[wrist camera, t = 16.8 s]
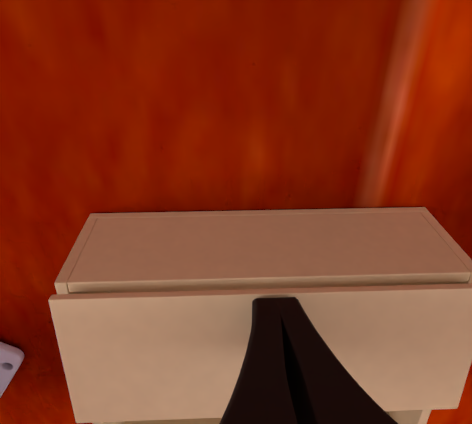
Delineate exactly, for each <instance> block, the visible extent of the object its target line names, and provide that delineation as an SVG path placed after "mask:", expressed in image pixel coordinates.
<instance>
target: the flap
mask: <svg viewBox="0 0 472 424" xmlns="http://www.w3.org/2000/svg"><path fill="white" fill-rule="evenodd" d="M278 297H296V298H297V299H298V300H299V302H300V304H301V306H302V308H303V309H304V311H305V313H306V314H307V316H308V318H309V319H310V321H311V322H312V324H313V325H314V327H315V329H316V330H317V332H318V333H319V334H320V336H321V337H322V339H323V340H324V341H325V343H326V344H327V346H328V347H329V348H330V350H331V351H332V352H333V354H334V355H335V356H336V358H337V359H338V360H339V362H340V363H341V364H342V365H343V366H344V368H345V369H346V370H347V371H348V373H349V374H350V375H351V376H352V377H353V378H354V380H355V381H356V382H357V383H358V384H359V385H360V386H361V387H362V388H363V390H364V391H365V392H366V393H367V394H368V395H369V396H370V397H371V398H372V399H373V400H374V401H375V402H376V403H377V404H378V405H379V406H380V407H381V408H382V409H383V410H384V411H407V410H433V409H457V408H458V405H459V402H460V398H461V395H462V392H463V388H464V385H465V381H466V378H467V375H468V371H469V368H470V365H471V361H472V283H471V284H433V285H396V286H359V287H321V288H284V289H246V290H209V291H171V292H134V293H97V294H59V295H51V297H50V298H49V300H48V301H49V305H50V310H51V314H52V319H53V323H54V328H55V332H56V337H57V341H58V345H59V350H60V354H61V359H62V363H63V368H64V372H65V377H66V381H67V385H68V390H69V394H70V399H71V403H72V408H73V412H74V417H75V421H76V423H94V422H120V421H146V420H172V419H198V418H222V417H223V414H224V412H225V410H226V408H227V405H228V403H229V401H230V398H231V395H232V393H233V390H234V388H235V385H236V382H237V379H238V377H239V374H240V370H241V367H242V364H243V361H244V357H245V354H246V350H247V346H248V341H249V337H250V332H251V326H252V301H253V300H254V299H256V298H278Z"/></svg>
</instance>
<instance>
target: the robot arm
mask: <svg viewBox="0 0 472 424" xmlns="http://www.w3.org/2000/svg"><path fill="white" fill-rule="evenodd" d="M24 356H25V355H24V353H23V352H22V351H21V350H20V349H18V348H16V347H13V346H11V345H8V344H5V343H2V342H0V397H1V396H2V394H3V393H4V391H5V389H6V388H7V386H8V384H9V383H10V381H11V379H12V378H13V376H14V375H15V373H16V371H17V370H18V368H19V366H20V365H21V363H22V361H23V359H24ZM219 424H398V423H397V422H396V421H395V420H394V419H393V418H391V417H390V416H389V415H388V414H387V413H386V412H385V411H384V410H383V409H382V408H381V407H380V406H379V405H378V404H377V403H376V402H375V401H374V400H373V399H372V398H371V397H370V396H369V395H368V394H367V393H366V392H365V391H364V390H363V388H362V387H361V386H360V385H359V384H358V383H357V382H356V381H355V380H354V378H353V377H352V376H351V375H350V374H349V373H348V371H347V370H346V369H345V368H344V366H343V365H342V364H341V363H340V362H339V360H338V359H337V358H336V356H335V355H334V354H333V352H332V351H331V350H330V348H329V347H328V346H327V344H326V343H325V341H324V340H323V339H322V337H321V336H320V334H319V333H318V332H317V330H316V329H315V327H314V325H313V324H312V322H311V321H310V319H309V318H308V316H307V314H306V313H305V311H304V309H303V308H302V306H301V304H300V302H299V300H298V299H297V298H296V297H278V298H256V299H254V300H253V301H252V326H251V332H250V337H249V341H248V346H247V350H246V354H245V357H244V361H243V364H242V367H241V370H240V374H239V377H238V379H237V382H236V385H235V388H234V390H233V393H232V395H231V398H230V401H229V403H228V405H227V408H226V410H225V412H224V414H223V417H222V419H221V421H220V423H219Z"/></svg>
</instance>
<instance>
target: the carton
mask: <svg viewBox="0 0 472 424" xmlns="http://www.w3.org/2000/svg"><path fill="white" fill-rule="evenodd" d="M471 283H472V260H471V259H470V257H469V256H468V255H467V254H466V253H465V252H464V251H463V250H462V248H461V247H460V246H459V245H458V244H457V243H456V242H455V241H454V239H453V238H452V237H451V236H450V235H449V234H448V233H447V232H446V230H445V229H444V228H443V227H442V226H441V225H440V224H439V223H438V221H437V220H436V219H435V218H434V217H433V216H432V215H431V213H430V212H428V210H427V209H426V208H425V207H398V208H347V209H296V210H245V211H193V212H142V213H91V214H90V215H89V217H88V219H87V221H86V223H85V225H84V227H83V229H82V230H81V232H80V234H79V236H78V238H77V240H76V242H75V244H74V246H73V248H72V250H71V252H70V254H69V256H68V258H67V260H66V261H65V263H64V265H63V267H62V269H61V271H60V273H59V275H58V277H57V279H56V281H55V283H54V284H55V288H56V292H57V295H59V294H97V293H134V292H171V291H209V290H246V289H284V288H321V287H359V286H396V285H433V284H471ZM385 412H386V413H387V414H388V415H389V416H390V417H391V418H393V419H394V420H395V421H396V422H397V423H398V424H426V423H427V421H428V418H429V415H430V413H431V410H407V411H385ZM221 419H222V418H198V419H172V420H146V421H120V422H94V423H93V424H219V423H220V421H221Z"/></svg>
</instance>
